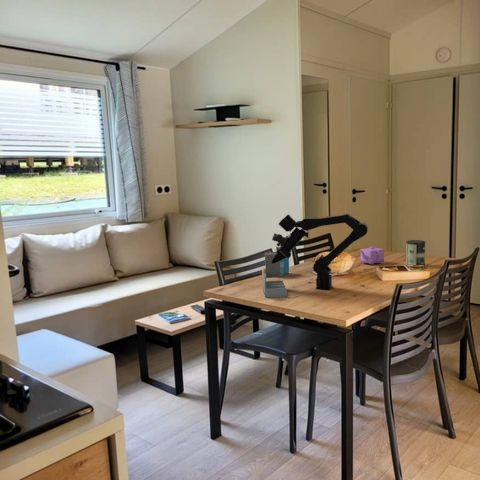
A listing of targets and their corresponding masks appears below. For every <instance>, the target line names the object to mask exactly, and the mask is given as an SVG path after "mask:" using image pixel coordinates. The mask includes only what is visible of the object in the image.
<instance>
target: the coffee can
mask: <svg viewBox="0 0 480 480" xmlns="http://www.w3.org/2000/svg"><path fill="white" fill-rule="evenodd" d="M405 244H406V247H405V248H406V251H405V253H406V260H405V261H406V262H405V264H406V263H407V264H412V265H425V266H426V240H422V239H409V240H406V241H405Z"/></svg>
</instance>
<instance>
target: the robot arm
mask: <svg viewBox="0 0 480 480" xmlns="http://www.w3.org/2000/svg"><path fill="white" fill-rule="evenodd" d="M340 224H346V225H347V226H348V227H349V228H351V229H352V231H351V232H350V233H349V235H347V236H346V237H345V239H343V240H342V241H341V242H340V243H338V245H337V246H335V247H334V248H333V249H332V250H331V251H329V253H327V254H326V255H323V254H321V255H320V256H319V257H318V258H316V259H315V260H314V263H313V265H312V269H313V272H314V273H316V278H315V282H316V283H315V286H316V287H315V290H326V291H329V290H331V289H333V288H334V286H333V283H332V282H333V281H332V280H333V279H332V278H333V277H332V275H331V273H332V269H331V268H330V267H329V266H330V264H331V263H332V262H333V261H334V260H335V259H337V257H339V255H340V254H342V253H343V251H345V250H346V249H347V248H348V247H350V246H351V245H352V244H353V243H354V242H356V241H358V240H359V239H361V238H363V237H365V236H366V235H367V234H368V232H369V225H368V224H367V223H366V222H361V221H359V220H358V219H357V218H355V217H353V216H352V215H351V214H349V213H345V214H338V215H331V216H326V217H312V216H309V217H305V218H304V219H303V218H302V220H297V221H296V219H294V218H293V217H292V216H291V215H290V214H286V216H285V217H283V218H282V219H281V220H280V222H278V226H279V227H280V228H282V229H283V230H284V231H285V232H287V233H288V232H289V234H288V235H286V236H284V235H282V234H280V233H276V232H275V233H273V236H272V238H271V240H272V241H274V242H276V244H275V245H276V247H275V248H276V249H275V250H276V251H275V252H277V254H276V256H275V257H274V259H273V260H272V262H271V263H272V264H274V263H276V262H278V261H280V260H283V259H285V258H288V259H289V260H290V258H291V257H292V250H293V249H295V247H297V246H298V244H299V242H300V241H302V239H304V237H306V238H307V239H308V238H309V233H310V232H308V231H310V230H314V229H316V228H319V227H324V226H332V225H340Z"/></svg>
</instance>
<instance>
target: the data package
mask: <svg viewBox="0 0 480 480" xmlns="http://www.w3.org/2000/svg"><path fill="white" fill-rule="evenodd" d="M289 271H290V258H289V259H288V258H285V259H283V260H280V273H281V276H283V275H284V274H285V275H288V274H289Z"/></svg>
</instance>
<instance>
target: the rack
mask: <svg viewBox="0 0 480 480" xmlns="http://www.w3.org/2000/svg"><path fill="white" fill-rule="evenodd" d="M261 279H262V292H263V295H265V296H264V298H283V297H285V298H286V297H288V296H287V291H288V290H287V287H286V285H285V283H284V281H283V280H267V278H266V269H265V267H262V269H261Z"/></svg>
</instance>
